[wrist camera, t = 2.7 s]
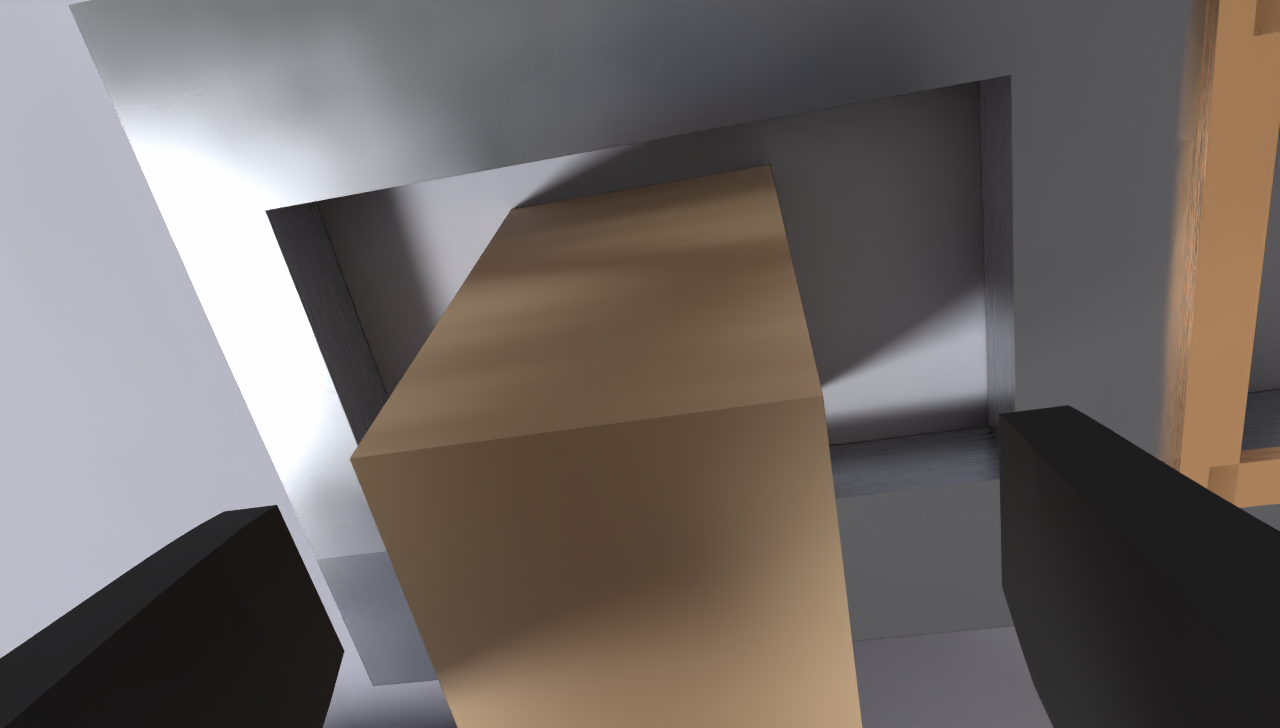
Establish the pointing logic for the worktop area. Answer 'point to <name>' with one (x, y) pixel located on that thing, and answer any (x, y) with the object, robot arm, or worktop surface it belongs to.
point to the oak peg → (622, 474)
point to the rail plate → (713, 98)
